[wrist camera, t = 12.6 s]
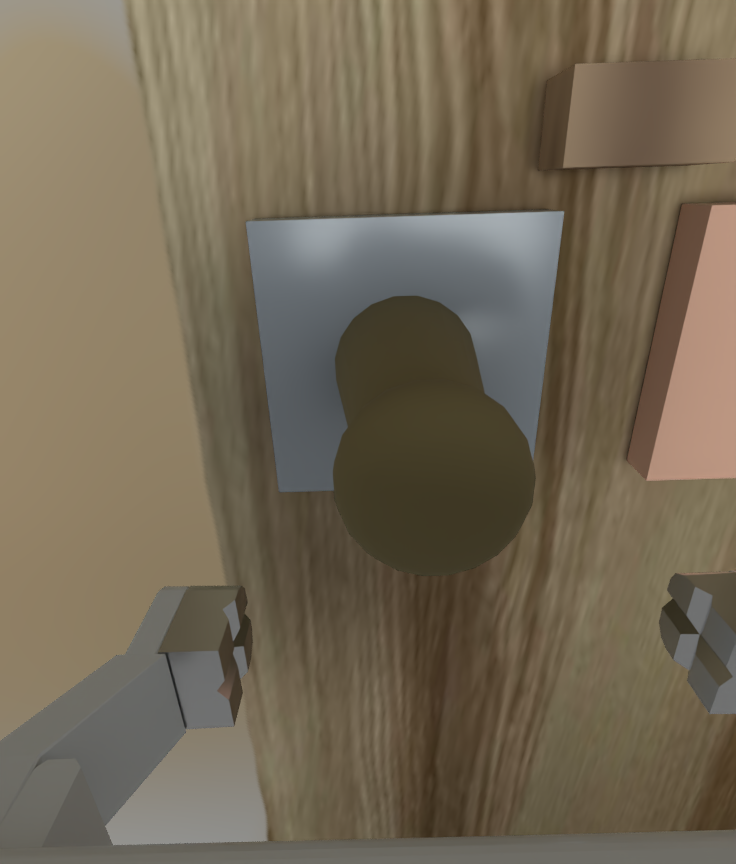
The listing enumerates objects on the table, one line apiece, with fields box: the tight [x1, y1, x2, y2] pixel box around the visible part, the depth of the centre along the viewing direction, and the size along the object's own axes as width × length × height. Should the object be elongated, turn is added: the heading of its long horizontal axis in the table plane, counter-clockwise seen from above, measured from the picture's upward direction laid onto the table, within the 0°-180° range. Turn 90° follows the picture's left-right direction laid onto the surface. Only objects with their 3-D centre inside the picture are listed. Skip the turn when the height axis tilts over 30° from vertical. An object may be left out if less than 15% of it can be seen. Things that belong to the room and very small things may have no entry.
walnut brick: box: [538, 58, 736, 170], centre depth 19 cm, size 6×3×3 cm, turn 92°
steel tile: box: [246, 209, 564, 492], centre depth 23 cm, size 12×12×2 cm
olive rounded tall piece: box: [333, 296, 536, 576], centre depth 17 cm, size 6×6×11 cm
